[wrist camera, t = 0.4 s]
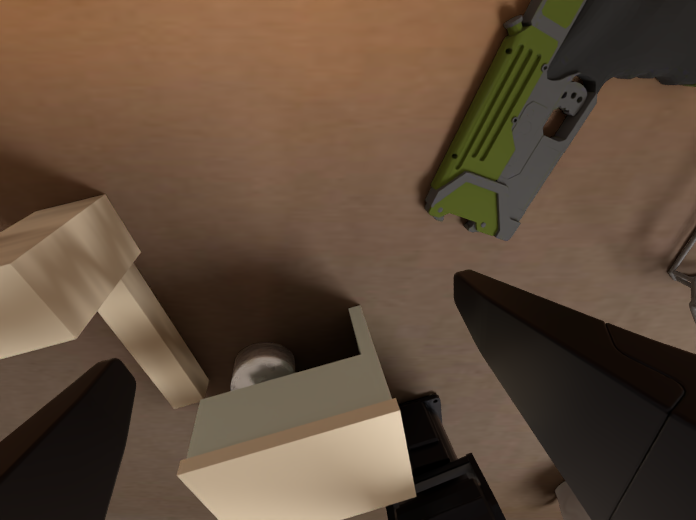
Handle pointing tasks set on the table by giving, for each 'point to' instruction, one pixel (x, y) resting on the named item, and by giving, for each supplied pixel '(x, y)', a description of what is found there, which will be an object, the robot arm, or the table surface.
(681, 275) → the geometric lantern
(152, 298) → the wooden l-shaped block
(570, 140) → the gun
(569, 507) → the mug
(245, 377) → the cylinder
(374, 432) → the pale green stool
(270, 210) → the table surface
